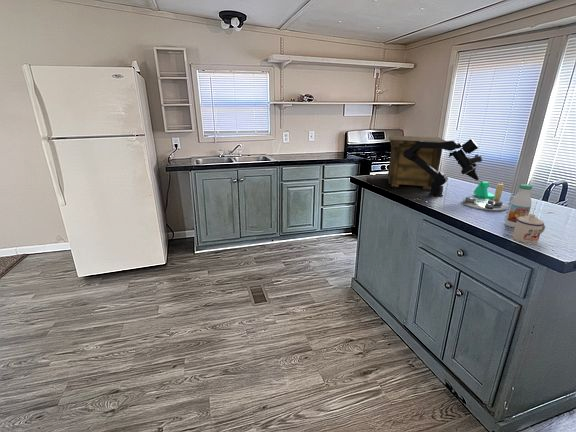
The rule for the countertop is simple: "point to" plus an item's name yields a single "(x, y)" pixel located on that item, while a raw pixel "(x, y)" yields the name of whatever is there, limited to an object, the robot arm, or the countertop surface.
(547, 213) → the countertop surface
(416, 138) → the crate
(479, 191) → the camera mount
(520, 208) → the milk bottle
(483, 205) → the plate
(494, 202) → the tan post with disc
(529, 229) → the teacup with lid
